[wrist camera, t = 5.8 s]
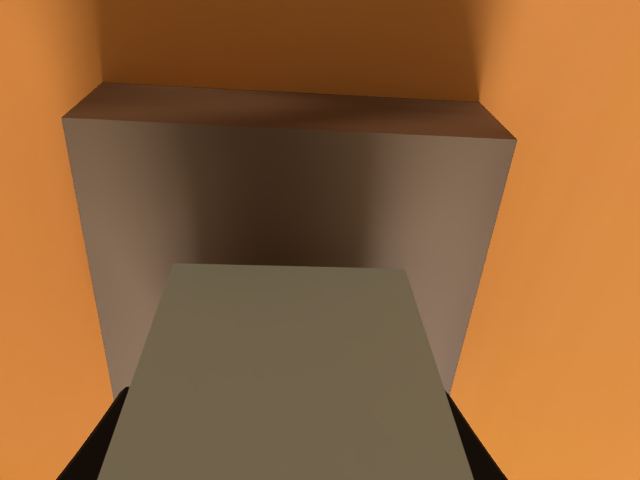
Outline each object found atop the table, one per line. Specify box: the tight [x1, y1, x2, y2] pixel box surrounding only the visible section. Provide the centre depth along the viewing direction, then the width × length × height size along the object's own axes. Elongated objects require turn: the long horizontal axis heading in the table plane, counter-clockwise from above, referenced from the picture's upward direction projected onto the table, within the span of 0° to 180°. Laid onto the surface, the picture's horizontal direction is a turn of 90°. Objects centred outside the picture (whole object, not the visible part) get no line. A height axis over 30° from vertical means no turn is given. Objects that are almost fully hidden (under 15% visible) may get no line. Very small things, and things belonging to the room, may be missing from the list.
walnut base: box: [62, 83, 517, 400], centre depth 14 cm, size 9×9×3 cm
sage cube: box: [97, 263, 474, 480], centre depth 9 cm, size 4×4×6 cm
